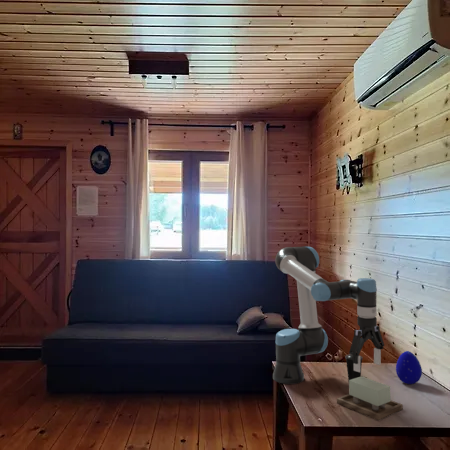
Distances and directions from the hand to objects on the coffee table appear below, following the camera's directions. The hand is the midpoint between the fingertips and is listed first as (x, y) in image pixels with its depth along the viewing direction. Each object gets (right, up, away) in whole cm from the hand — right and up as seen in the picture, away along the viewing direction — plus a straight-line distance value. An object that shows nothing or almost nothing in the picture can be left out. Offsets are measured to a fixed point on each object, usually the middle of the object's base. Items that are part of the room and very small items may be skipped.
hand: (367, 367), depth 168 cm
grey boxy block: (+1, -12, -1) cm, 12 cm away
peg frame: (0, -16, -1) cm, 16 cm away
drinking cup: (+1, -16, +21) cm, 26 cm away
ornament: (+28, -16, +23) cm, 39 cm away
